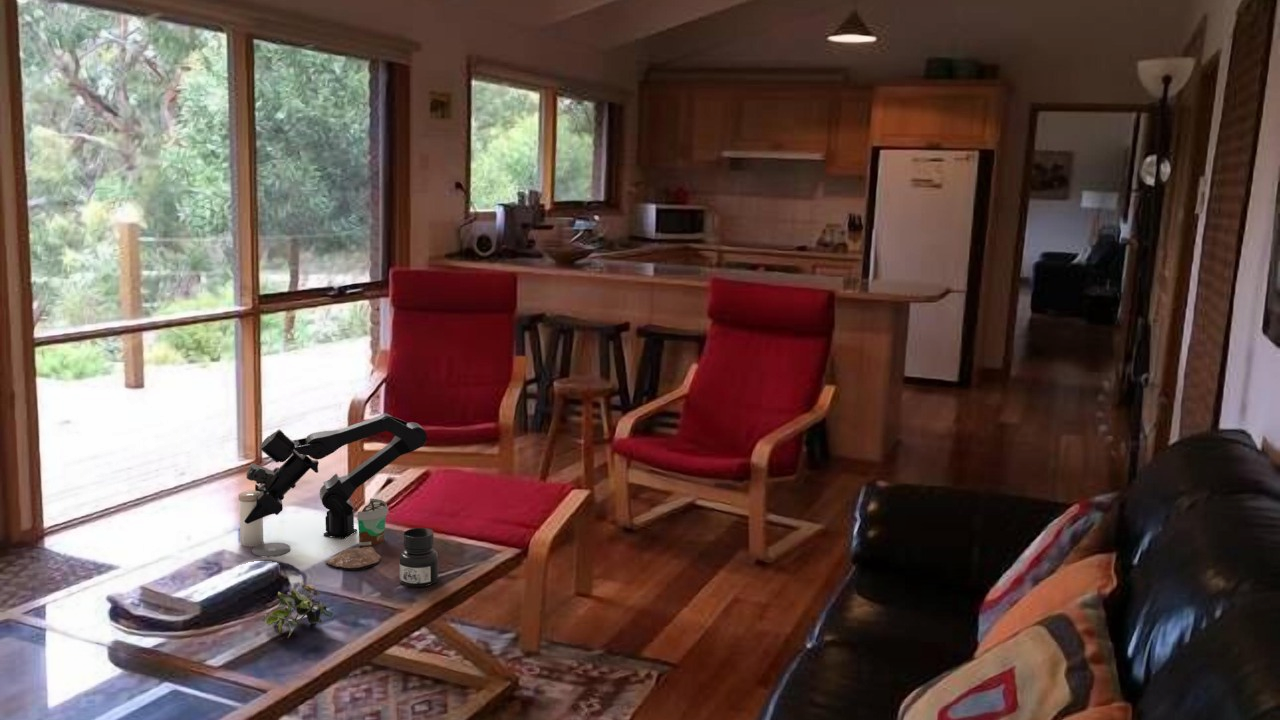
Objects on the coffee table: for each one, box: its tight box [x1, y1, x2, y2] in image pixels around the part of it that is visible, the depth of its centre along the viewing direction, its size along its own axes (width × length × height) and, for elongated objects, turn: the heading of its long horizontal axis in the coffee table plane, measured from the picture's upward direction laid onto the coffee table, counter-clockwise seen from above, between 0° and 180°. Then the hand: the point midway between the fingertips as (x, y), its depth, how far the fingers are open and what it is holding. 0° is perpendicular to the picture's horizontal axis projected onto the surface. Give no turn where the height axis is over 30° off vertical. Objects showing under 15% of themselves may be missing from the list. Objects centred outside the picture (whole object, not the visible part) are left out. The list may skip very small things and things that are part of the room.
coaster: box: [251, 541, 291, 558], centre depth 261 cm, size 9×9×1 cm
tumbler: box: [238, 490, 264, 547], centre depth 265 cm, size 6×6×13 cm
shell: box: [325, 547, 382, 571], centre depth 255 cm, size 12×13×4 cm
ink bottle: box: [399, 527, 439, 588], centre depth 244 cm, size 10×9×12 cm
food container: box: [356, 497, 390, 548], centre depth 268 cm, size 12×6×10 cm, turn 179°
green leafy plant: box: [261, 584, 334, 639], centre depth 216 cm, size 11×11×12 cm
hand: (245, 518), depth 264 cm, fingers open, 6 cm apart
